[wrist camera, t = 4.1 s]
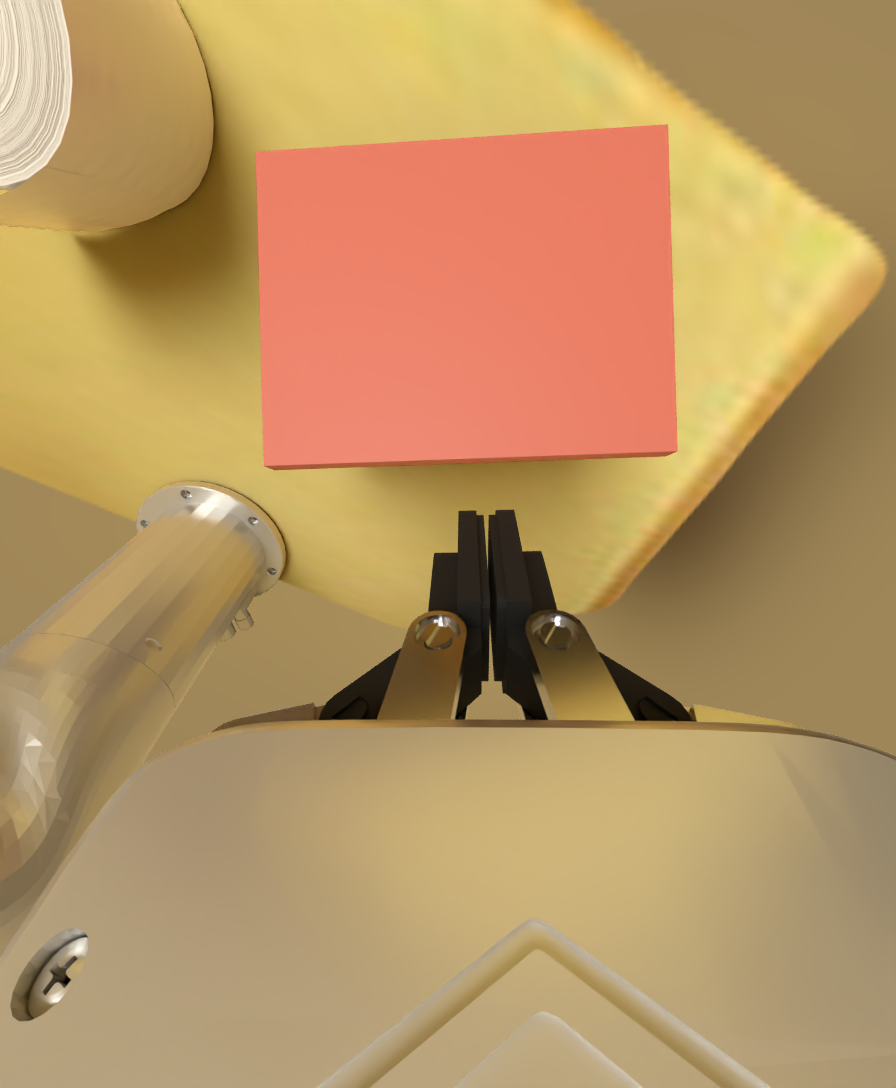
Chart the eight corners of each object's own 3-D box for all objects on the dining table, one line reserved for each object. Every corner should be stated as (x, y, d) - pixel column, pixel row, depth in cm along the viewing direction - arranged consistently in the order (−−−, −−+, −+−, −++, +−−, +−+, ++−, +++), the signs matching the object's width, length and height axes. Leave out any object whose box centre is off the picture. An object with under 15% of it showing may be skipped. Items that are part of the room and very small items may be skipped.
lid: (665, 456, 18) (677, 451, 17) (274, 470, 19) (264, 465, 18) (656, 147, 18) (667, 124, 17) (266, 172, 19) (255, 151, 18)
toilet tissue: (187, -77, 18) (-40, -363, 10) (238, 252, 25) (131, 247, 17) (-64, -117, 18) (-525, -455, 9) (59, 230, 24) (-144, 213, 16)
